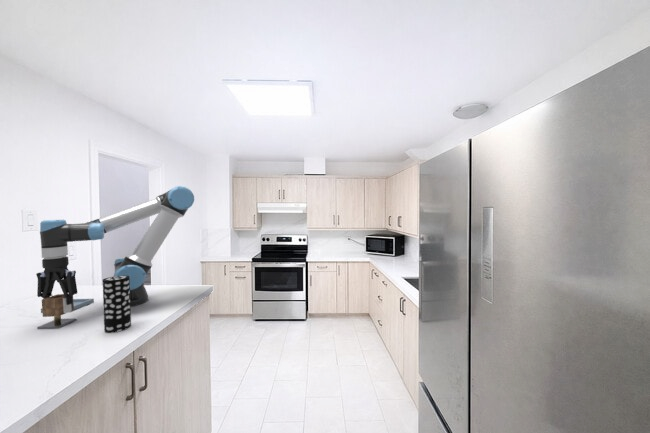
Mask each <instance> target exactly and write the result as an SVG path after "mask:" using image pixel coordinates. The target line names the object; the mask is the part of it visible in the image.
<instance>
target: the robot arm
mask: <svg viewBox="0 0 650 433" xmlns="http://www.w3.org/2000/svg"><path fill="white" fill-rule="evenodd" d="M194 202H195V195H194V193H193V192H192V190H191V189H190V188H188V187H186V186H181V185H178V186H174V187H172V188H171V189H169V190H168V191H166V192H164V193H161V194H159V195H156V197H155V198H154V199H151V200H148V201H145V202H143V203H140V204H137V205H134V206H131V207H128V208H125V209H123V210H120V211H116V212H114V213H110V214H108V215H105V216H103V217H99V218H96V219H93V220H91V221H87V222H84V223H83V222H82V223H67V220H65V219H46V220H45V219H44V220H42V221H40V223H39V224H40V228H39V229H40V230H39V235H40V248H41V249H40V250H41V258H42V260H41V262H42V263H41V265H42V266H41V267H42V269H44V270H43V271H41V272H37V273H36V278H37V295H36V296H37V297H38V298H41V299H45V298H48V297H51V296H53V289H54V287H55V283H56V282H57V283H58V284H59V286H60V289H61V290H62V294H64V296H65V297H63V311H64V314H63V315H66V314H67V313H71V312H70V311H72V308H71V304H72V302H73V301H72V296H73V297H74V295H77V294H78V288H77V281H76V279H77V278H76V273H77V271H76V270H69V268H68V266H69V265H70V264H69V263H70V262H69V256H68V255H69V253H68V252H69V249H68V243H71V242H82V241H83V242H84V241H85V242H86V241H101V240H103V239H104V238H105V234H107V233H109V232H112V231H114V230H118V229H120V228H122V227H123V228H124V227H125V226H129V225H131V224H134V223H137V222H140V221H141V220H142V221H143V220H144V219H147V218H149V217H152V216H156V215H157V216H156V217H155V218H154V220H153V221H152V223H151V225H150V226H149V227H148V229H147V230H146V232H145V234H144V235H143V236H142V238H141V239H140V241H139V242H138V244H137V245H136V246H135V249H134V250H133V252H132V253H131V254H127V255H126V256H125V257H124V258H117V259H115V260H114V264H113V266H114V274H113V276H112V277H114V276H124V275H125V276H129V277H130V307H135V306H137V305H141V304H144V303H146V302H147V301H149V294H148V291H147V290H146V287H145V281H146V278H147V275H148V273H149V272H150V270H151V268H152V267H153V264H152V261H153V259H154V257H155V256H156V254H157V253H158V251H159V249H160V248H161V246H162V245H163V243H164V241H165V240H166V238H167V236H169V233H170V231H172V229H173V227H174V226H175V224H176V223H177V221H178V219H180V218H183V217H184V216H185V215H186V213H187V211H188V210H189V209H190V208H191V207H193V204H194ZM72 312H73V311H72Z"/></svg>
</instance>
